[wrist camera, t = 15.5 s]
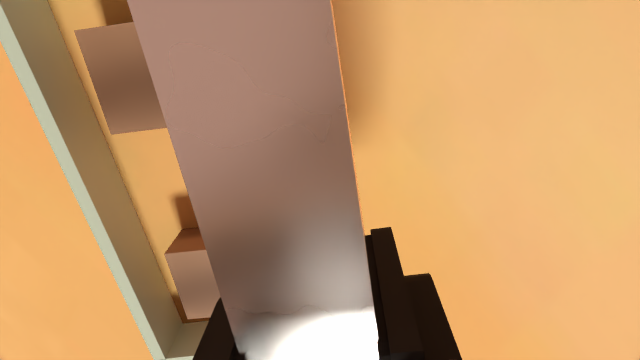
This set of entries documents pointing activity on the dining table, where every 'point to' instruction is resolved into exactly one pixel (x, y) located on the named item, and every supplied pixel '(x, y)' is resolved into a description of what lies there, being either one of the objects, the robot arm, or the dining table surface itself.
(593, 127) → the dining table surface
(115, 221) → the grey u-shaped bracket
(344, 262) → the long grey plank
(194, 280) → the small brown block
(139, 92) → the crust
